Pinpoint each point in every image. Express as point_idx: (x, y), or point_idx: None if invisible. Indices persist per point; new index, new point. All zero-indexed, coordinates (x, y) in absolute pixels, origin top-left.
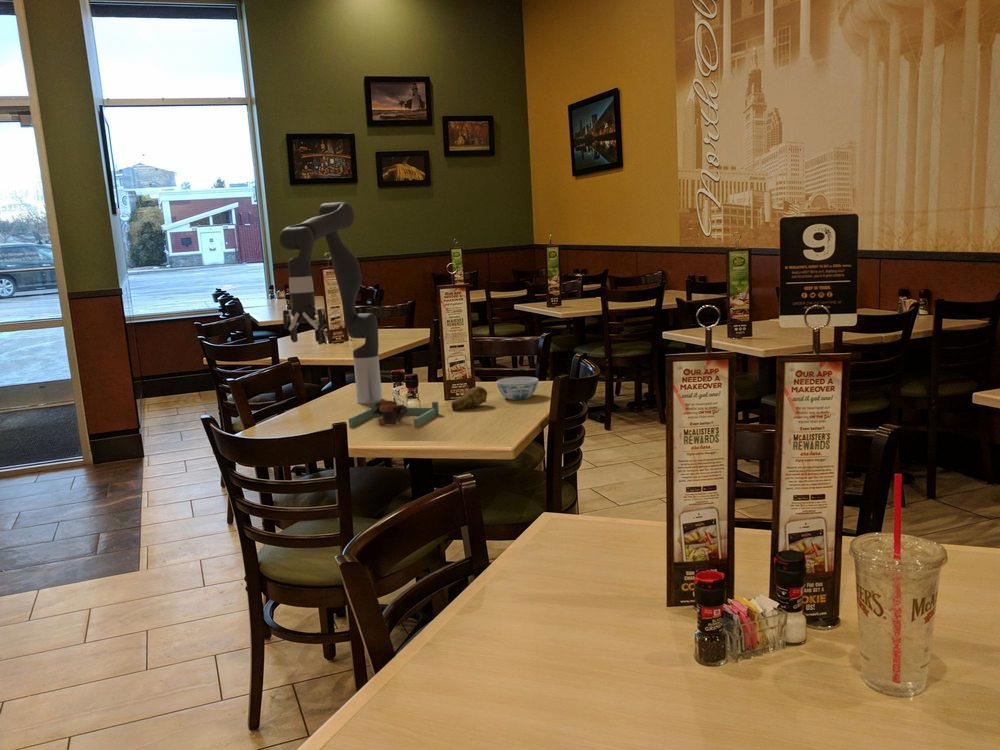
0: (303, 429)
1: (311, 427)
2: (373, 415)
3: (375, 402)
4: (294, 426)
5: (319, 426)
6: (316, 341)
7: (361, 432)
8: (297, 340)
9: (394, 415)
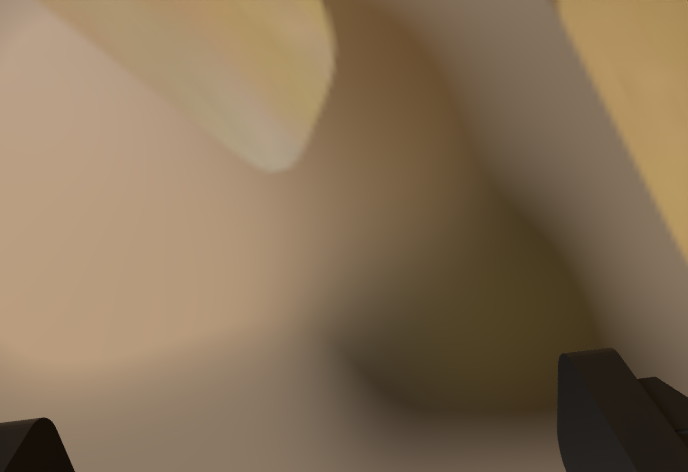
0: (250, 94)
1: (261, 39)
2: None
3: None
4: (135, 37)
5: (292, 4)
6: (566, 444)
7: (630, 87)
8: (37, 423)
9: None
